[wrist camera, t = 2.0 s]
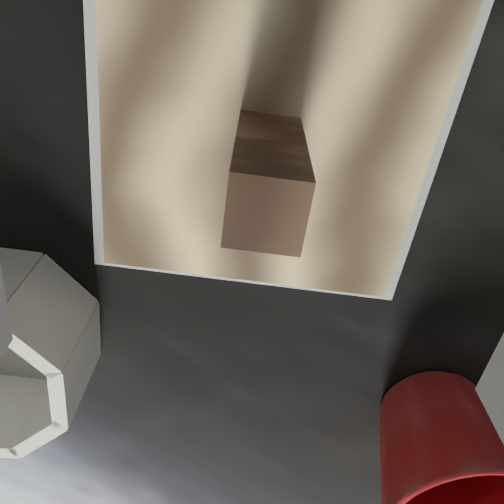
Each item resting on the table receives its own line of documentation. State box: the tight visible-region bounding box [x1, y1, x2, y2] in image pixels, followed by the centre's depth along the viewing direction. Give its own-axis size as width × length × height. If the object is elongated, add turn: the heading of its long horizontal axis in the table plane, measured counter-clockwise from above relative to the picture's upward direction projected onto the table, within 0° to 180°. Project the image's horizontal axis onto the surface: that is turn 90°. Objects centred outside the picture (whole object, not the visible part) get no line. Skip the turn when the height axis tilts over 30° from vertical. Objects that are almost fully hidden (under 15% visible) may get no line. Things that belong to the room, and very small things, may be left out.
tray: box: [83, 0, 494, 300], centre depth 27 cm, size 20×20×1 cm
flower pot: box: [380, 371, 504, 504], centre depth 34 cm, size 11×11×10 cm
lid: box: [96, 0, 483, 297], centre depth 23 cm, size 18×18×10 cm
